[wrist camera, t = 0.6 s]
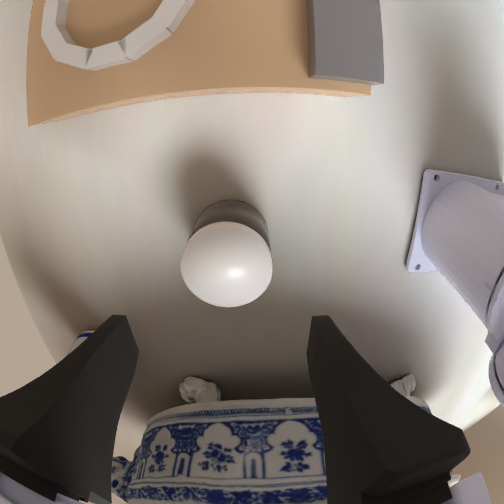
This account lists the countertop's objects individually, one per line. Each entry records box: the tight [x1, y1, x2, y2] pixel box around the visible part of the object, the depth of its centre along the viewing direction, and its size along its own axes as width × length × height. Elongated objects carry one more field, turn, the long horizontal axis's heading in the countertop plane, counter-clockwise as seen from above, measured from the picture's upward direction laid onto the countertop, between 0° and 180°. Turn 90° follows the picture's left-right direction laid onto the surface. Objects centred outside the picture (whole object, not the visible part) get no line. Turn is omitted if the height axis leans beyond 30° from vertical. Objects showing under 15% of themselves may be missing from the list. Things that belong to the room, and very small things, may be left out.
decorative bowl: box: [111, 374, 461, 504], centre depth 25 cm, size 42×27×15 cm, turn 86°
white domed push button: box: [181, 200, 273, 307], centre depth 17 cm, size 5×5×4 cm
